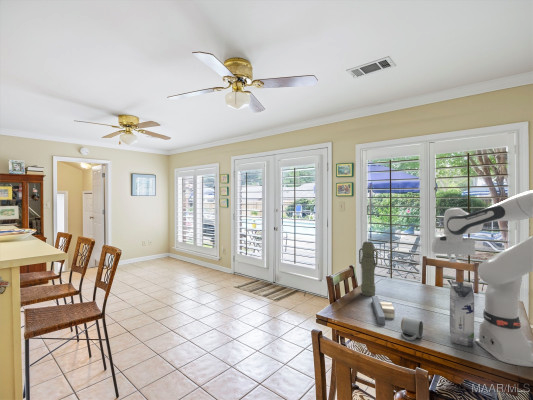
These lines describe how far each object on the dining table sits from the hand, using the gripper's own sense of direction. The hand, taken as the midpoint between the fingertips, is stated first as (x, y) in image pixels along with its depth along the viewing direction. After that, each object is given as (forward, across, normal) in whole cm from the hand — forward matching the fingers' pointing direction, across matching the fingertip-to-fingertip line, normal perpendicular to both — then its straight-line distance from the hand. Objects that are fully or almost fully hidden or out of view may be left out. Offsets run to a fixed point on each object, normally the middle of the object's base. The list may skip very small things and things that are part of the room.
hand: (452, 262), depth 151 cm
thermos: (+29, +42, -22) cm, 56 cm away
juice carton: (+29, +7, +30) cm, 42 cm away
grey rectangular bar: (+29, +39, +7) cm, 50 cm away
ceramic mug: (+29, +28, +31) cm, 51 cm away
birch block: (+29, +35, +8) cm, 46 cm away
